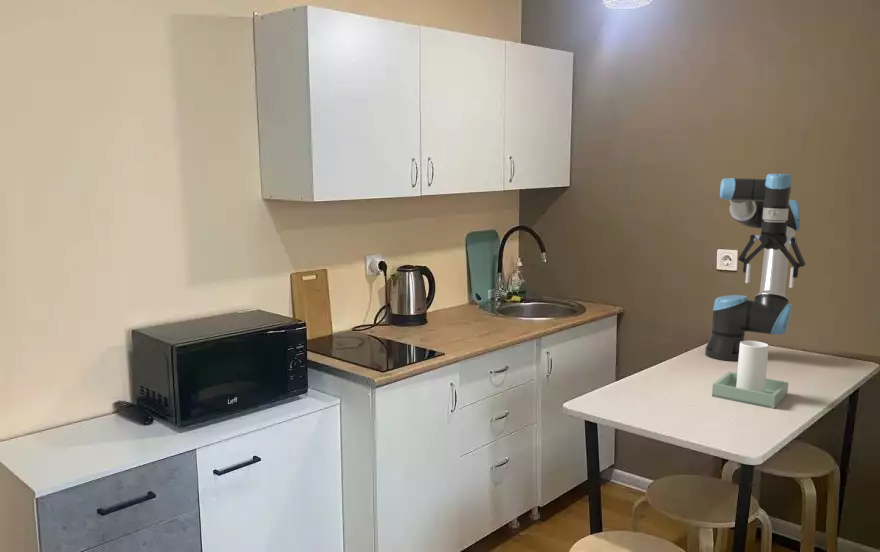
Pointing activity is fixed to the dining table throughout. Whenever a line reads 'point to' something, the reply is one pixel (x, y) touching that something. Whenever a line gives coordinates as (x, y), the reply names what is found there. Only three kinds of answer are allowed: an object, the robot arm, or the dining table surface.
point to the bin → (750, 391)
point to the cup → (752, 365)
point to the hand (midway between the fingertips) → (768, 285)
